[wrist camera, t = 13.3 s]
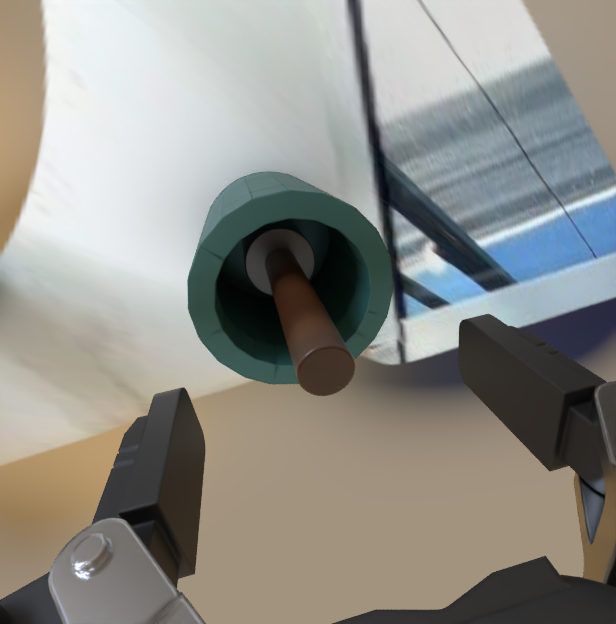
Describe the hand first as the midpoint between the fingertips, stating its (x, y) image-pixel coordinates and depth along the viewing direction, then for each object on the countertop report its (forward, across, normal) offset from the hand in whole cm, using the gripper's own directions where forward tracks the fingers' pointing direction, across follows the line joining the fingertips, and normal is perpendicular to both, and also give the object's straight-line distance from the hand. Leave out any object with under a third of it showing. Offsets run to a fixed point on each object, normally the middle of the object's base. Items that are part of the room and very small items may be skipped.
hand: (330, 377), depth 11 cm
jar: (+17, 0, 0) cm, 17 cm away
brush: (+16, 0, 0) cm, 16 cm away
